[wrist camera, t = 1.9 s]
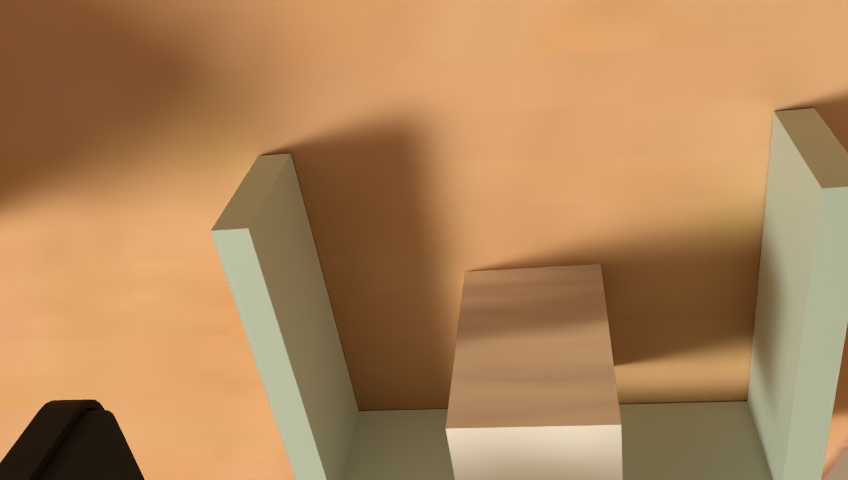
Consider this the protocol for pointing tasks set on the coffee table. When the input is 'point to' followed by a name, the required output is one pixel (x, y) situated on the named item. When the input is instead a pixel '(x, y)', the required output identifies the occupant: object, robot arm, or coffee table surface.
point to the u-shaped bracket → (640, 423)
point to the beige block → (534, 378)
